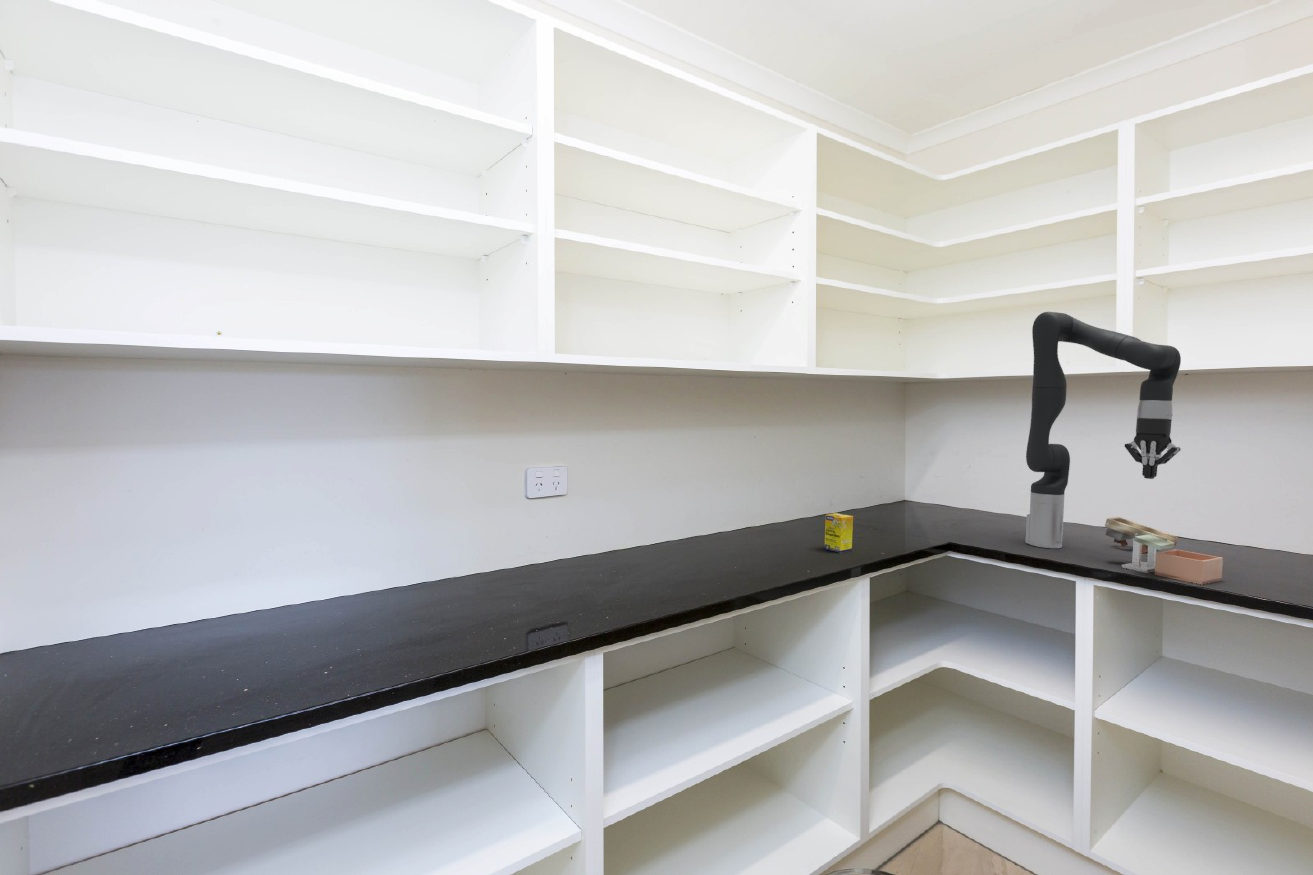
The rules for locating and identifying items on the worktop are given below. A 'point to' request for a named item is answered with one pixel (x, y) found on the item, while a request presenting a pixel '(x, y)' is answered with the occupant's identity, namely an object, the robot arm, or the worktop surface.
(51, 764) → the worktop surface
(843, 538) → the supplement box
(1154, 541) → the chute
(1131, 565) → the chute stand
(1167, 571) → the pink storage bin
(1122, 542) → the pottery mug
